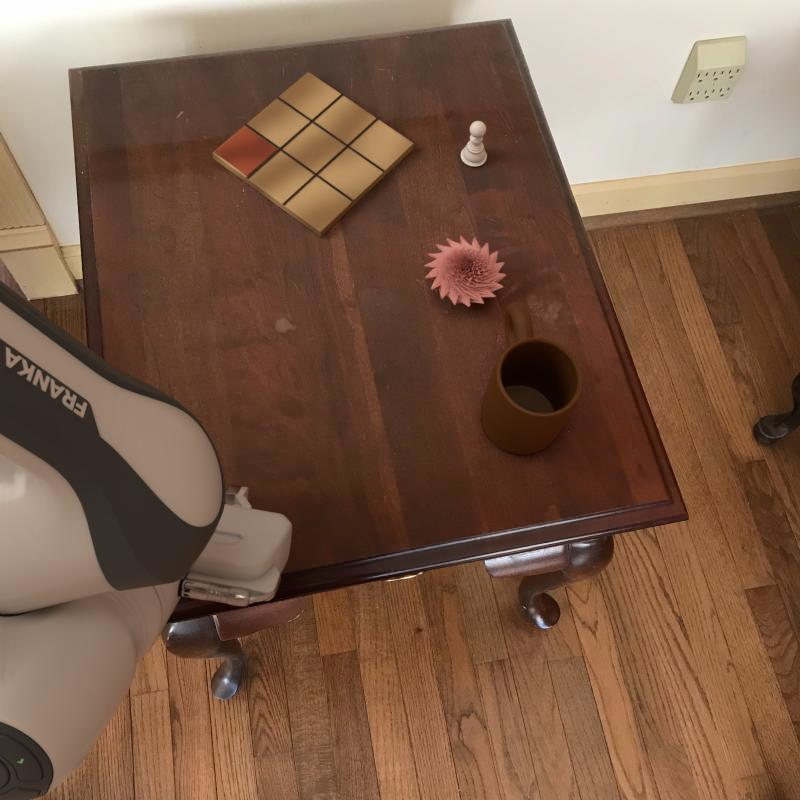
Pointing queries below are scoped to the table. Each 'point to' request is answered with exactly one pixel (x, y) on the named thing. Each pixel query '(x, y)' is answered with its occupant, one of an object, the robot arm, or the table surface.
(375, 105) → the table surface
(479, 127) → the chess pawn
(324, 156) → the board
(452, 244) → the flower
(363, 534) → the table surface
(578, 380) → the mug
